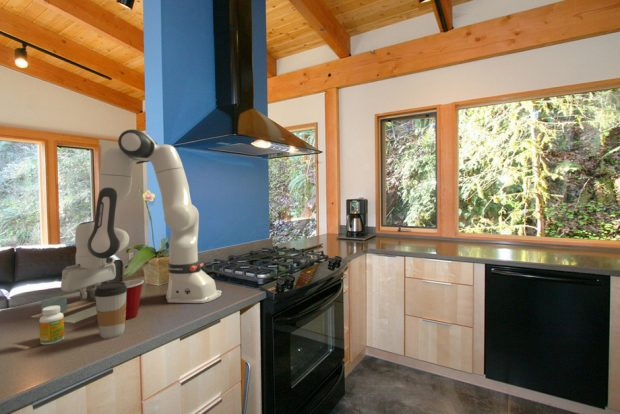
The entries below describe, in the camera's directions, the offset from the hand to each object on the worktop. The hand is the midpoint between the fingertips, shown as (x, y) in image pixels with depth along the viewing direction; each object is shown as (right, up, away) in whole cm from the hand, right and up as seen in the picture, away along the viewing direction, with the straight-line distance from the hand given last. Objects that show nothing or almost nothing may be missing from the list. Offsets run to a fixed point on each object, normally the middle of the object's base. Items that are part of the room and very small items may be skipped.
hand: (90, 296), depth 122 cm
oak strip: (-2, -3, -8) cm, 9 cm away
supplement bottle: (+13, -4, -33) cm, 36 cm away
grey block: (+9, -3, -11) cm, 15 cm away
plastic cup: (+24, -3, -15) cm, 28 cm away
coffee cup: (+27, -3, -29) cm, 40 cm away
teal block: (-4, -2, -13) cm, 14 cm away
